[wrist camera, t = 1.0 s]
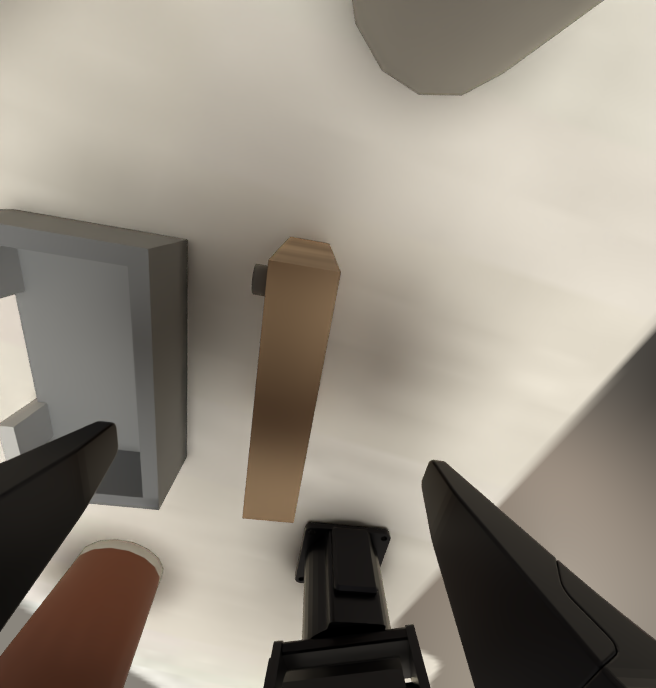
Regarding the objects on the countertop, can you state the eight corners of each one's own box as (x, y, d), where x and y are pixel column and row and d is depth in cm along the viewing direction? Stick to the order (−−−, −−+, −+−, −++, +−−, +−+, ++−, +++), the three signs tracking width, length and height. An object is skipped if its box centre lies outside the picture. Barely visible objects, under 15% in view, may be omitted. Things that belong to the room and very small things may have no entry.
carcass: (186, 457, 21) (158, 509, 17) (-19, 435, 20) (-95, 486, 16) (187, 239, 16) (148, 248, 12) (-93, 190, 15) (-232, 184, 11)
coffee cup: (176, 530, 24) (56, 808, 13) (183, 603, 27) (93, 871, 16) (47, 523, 23) (-199, 812, 12) (71, 599, 27) (-103, 877, 16)
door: (301, 407, 20) (293, 522, 13) (260, 401, 20) (226, 517, 12) (329, 243, 16) (340, 272, 9) (278, 234, 16) (246, 256, 9)
